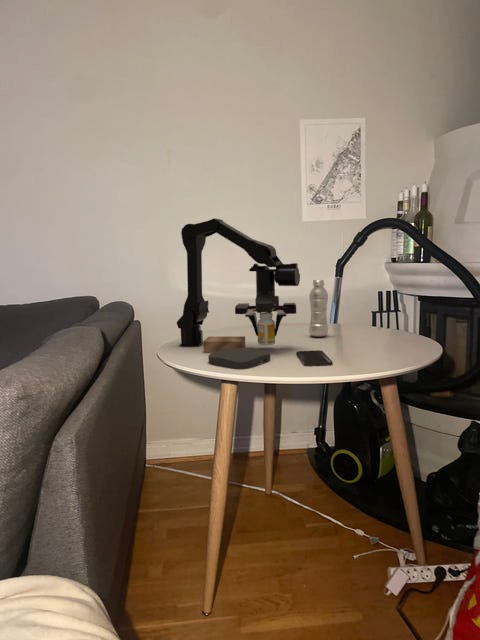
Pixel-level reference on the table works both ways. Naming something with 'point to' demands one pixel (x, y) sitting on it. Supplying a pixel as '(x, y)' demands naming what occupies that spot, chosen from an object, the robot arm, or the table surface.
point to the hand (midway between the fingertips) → (266, 335)
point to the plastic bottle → (318, 309)
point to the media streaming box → (239, 357)
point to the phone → (314, 358)
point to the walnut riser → (223, 343)
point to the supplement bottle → (266, 329)
